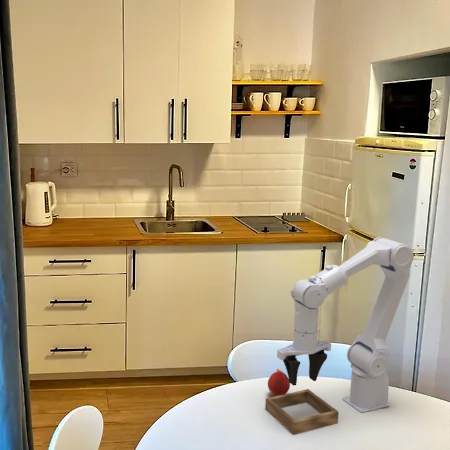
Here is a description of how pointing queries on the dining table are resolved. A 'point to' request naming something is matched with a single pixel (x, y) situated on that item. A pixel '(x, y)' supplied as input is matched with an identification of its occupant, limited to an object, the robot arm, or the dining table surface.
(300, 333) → the robot arm
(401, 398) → the dining table surface
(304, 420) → the box
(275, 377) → the onion
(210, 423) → the dining table surface
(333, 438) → the dining table surface
